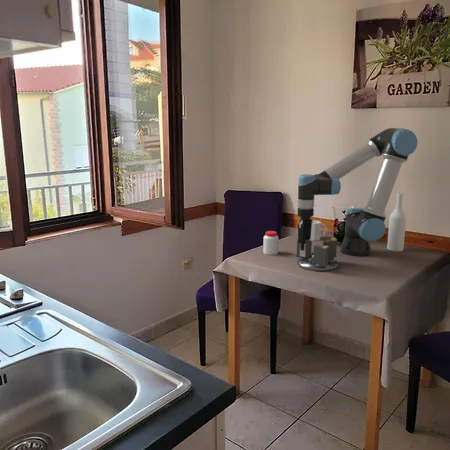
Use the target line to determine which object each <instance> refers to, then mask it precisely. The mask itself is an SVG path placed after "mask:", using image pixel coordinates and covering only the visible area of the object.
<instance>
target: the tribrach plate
mask: <svg viewBox="0 0 450 450" xmlns="http://www.w3.org/2000/svg"><path fill="white" fill-rule="evenodd" d="M297 266H298V268H301V269H303V270H306V271H311V272H330V271H334V270H337V269H338V268H339V261H338V260H336V259H335V258H334V260H328V265H327V266H325V267H322V268H320V267H316V266H315V264H314V263H313V252H312V251H311V258H310V259H308V260H300V259H299V258H297Z"/></svg>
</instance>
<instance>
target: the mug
mask: <svg viewBox="0 0 450 450" xmlns="http://www.w3.org/2000/svg"><path fill="white" fill-rule="evenodd" d="M322 227H324V230H323V232H322ZM327 230H328V227H327V226H326V225H325V223H322V221H319V220H317V219H316V220H313V221H312V228H311V239H309V240H311V241H320V240H321V235H323V236H326V234H327ZM321 233H322V234H321Z"/></svg>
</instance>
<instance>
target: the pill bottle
mask: <svg viewBox="0 0 450 450" xmlns="http://www.w3.org/2000/svg"><path fill="white" fill-rule="evenodd" d="M262 239H263V244H262V245H263V247H262V249H263V250H262V251H263V252H262V253H263V254H264V255H267V256H274V255H278V254H279V236H278V234H277V231H274V230H267V231H265V235H264V236H263V238H262Z"/></svg>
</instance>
